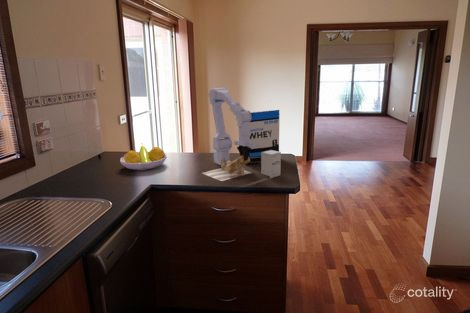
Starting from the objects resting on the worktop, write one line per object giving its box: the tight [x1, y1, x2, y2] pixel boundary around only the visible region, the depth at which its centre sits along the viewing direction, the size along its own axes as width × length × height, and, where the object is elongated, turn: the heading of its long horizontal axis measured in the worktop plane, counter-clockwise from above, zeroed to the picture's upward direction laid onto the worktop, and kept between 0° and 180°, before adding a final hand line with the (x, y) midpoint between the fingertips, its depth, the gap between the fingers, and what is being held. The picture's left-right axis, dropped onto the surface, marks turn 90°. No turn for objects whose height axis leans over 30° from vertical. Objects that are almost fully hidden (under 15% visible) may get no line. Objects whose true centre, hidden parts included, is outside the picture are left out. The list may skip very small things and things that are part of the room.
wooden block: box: [226, 155, 250, 174], centre depth 174 cm, size 14×2×5 cm, turn 129°
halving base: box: [201, 159, 253, 182], centre depth 177 cm, size 18×20×6 cm
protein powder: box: [244, 109, 280, 166], centre depth 196 cm, size 10×24×30 cm, turn 118°
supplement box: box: [260, 150, 282, 179], centre depth 172 cm, size 7×7×13 cm
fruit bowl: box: [119, 142, 168, 172], centre depth 196 cm, size 28×27×11 cm
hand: (244, 159), depth 177 cm, fingers closed on wooden block, 2 cm apart
